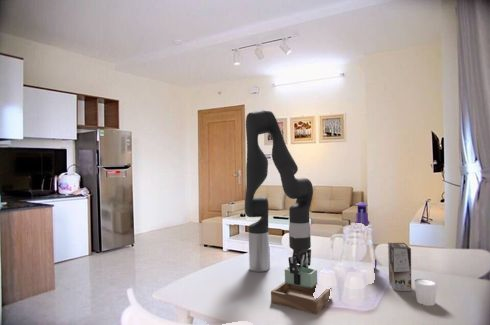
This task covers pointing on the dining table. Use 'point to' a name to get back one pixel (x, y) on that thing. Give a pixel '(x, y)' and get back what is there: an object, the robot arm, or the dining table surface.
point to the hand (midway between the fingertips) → (300, 281)
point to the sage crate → (302, 277)
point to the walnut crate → (299, 298)
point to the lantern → (362, 217)
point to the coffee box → (399, 266)
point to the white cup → (426, 291)
